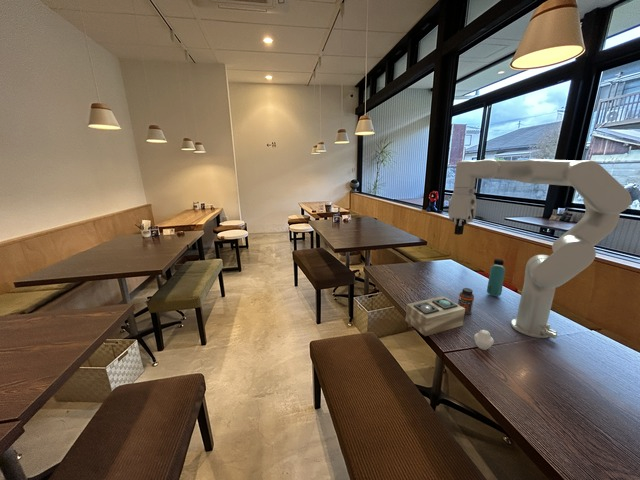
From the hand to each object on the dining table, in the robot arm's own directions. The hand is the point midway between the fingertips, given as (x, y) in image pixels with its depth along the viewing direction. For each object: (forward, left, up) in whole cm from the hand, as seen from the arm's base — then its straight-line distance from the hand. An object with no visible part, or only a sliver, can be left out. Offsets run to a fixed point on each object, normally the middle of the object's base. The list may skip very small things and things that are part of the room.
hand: (458, 234), depth 112 cm
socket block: (-6, +15, -37) cm, 40 cm away
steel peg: (-6, +20, -36) cm, 41 cm away
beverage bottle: (+2, -32, -37) cm, 49 cm away
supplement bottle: (-4, -5, -37) cm, 38 cm away
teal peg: (-6, +10, -36) cm, 38 cm away
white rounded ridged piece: (-25, +10, -37) cm, 46 cm away
